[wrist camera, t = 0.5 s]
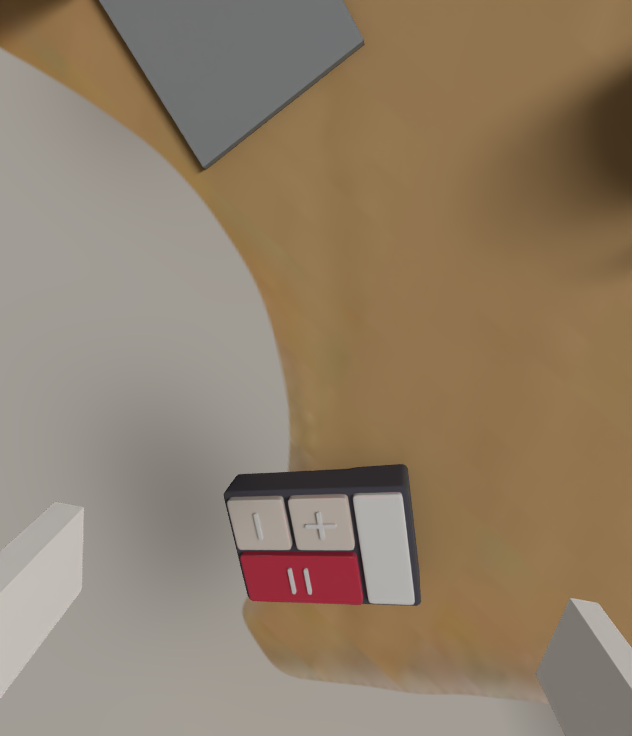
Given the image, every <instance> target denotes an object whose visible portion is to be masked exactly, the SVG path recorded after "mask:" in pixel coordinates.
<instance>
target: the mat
mask: <svg viewBox="0 0 632 736" xmlns="http://www.w3.org/2000/svg"><path fill="white" fill-rule="evenodd" d="M99 1H100V3H101V4H102V6H103V7H104V9H105V11H106V12H107V14H108V15H109V17H110V19H111V20H112V22H113V24H114V25H115V27H116V28H117V30H118V32H119V33H120V35H121V36H122V38H123V40H124V41H125V43H126V44H127V46H128V48H129V49H130V51H131V52H132V54H133V56H134V57H135V59H136V60H137V62H138V64H139V65H140V67H141V68H142V70H143V72H144V73H145V75H146V76H147V78H148V80H149V81H150V83H151V85H152V86H153V88H154V89H155V91H156V93H157V94H158V96H159V97H160V99H161V101H162V102H163V104H164V105H165V107H166V109H167V110H168V112H169V113H170V115H171V117H172V118H173V120H174V121H175V123H176V125H177V126H178V128H179V129H180V131H181V133H182V134H183V136H184V137H185V139H186V141H187V142H188V144H189V146H190V147H191V149H192V150H193V152H194V154H195V155H196V157H197V158H198V160H199V162H200V163H201V165H202V166H203V168H205V169H207V168H209V167H210V166H211V165H212V164H214V163H215V162H216V161H217V160H219V159H220V158H221V157H223V156H224V155H225V154H226V153H228V152H229V151H230V150H231V149H233V148H234V147H235V146H236V145H238V144H239V143H240V142H242V141H243V140H244V139H245V138H247V137H248V136H249V135H250V134H252V133H253V132H254V131H255V130H257V129H258V128H259V127H261V126H262V125H263V124H264V123H266V122H267V121H268V120H269V119H271V118H272V117H273V116H274V115H276V114H277V113H278V112H279V111H281V110H282V109H283V108H285V107H286V106H287V105H288V104H290V103H291V102H292V101H293V100H295V99H296V98H297V97H298V96H300V95H301V94H302V93H304V92H305V91H306V90H307V89H309V88H310V87H311V86H312V85H314V84H315V83H316V82H317V81H319V80H320V79H321V78H323V77H324V76H325V75H326V74H328V73H329V72H330V71H331V70H333V69H334V68H335V67H336V66H338V65H339V64H340V63H342V62H343V61H344V60H345V59H347V58H348V57H349V56H350V55H352V54H353V53H354V52H355V51H357V50H358V49H359V48H360V47H362V46H363V45H364V39H363V37H362V35H361V33H360V32H359V30H358V28H357V26H356V24H355V22H354V20H353V18H352V16H351V15H350V13H349V11H348V9H347V7H346V5H345V3H344V1H343V0H99Z"/></svg>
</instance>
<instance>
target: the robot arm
mask: <svg viewBox="0 0 632 736" xmlns="http://www.w3.org/2000/svg"><path fill="white" fill-rule="evenodd" d="M83 527H84V507H81V506H76V505H70V504H66V503H60V502H55V503H53V504H52V505H51V506H50V507H49V508H48V509H47V510H46V511H44V512H43V513H42V514H41V515H40V516H39V517H38V518H37V519H36V520H34V521H33V522H32V523H31V524H30V525H29V526H28V527H27V528H26V529H24V530H23V531H22V532H21V533H20V534H19V535H18V536H17V537H15V538H14V539H13V540H12V541H11V542H10V543H9V544H8V545H7V546H5V547H4V548H3V549H2V550H1V551H0V698H1V697H2V696H3V694H4V693H5V692H6V690H7V689H8V688H9V686H10V685H11V684H12V682H13V681H14V680H15V678H16V677H17V676H18V674H19V673H20V672H21V670H22V669H23V668H24V666H25V665H26V664H27V662H28V661H29V660H30V658H31V657H32V656H33V654H34V653H35V652H36V650H37V649H38V648H39V646H40V645H41V644H42V642H43V641H44V639H45V638H46V637H47V635H48V634H49V633H50V631H51V630H52V629H53V627H54V626H55V624H56V623H57V622H58V621H59V619H60V618H61V617H62V615H63V614H64V613H65V611H66V610H67V609H68V607H69V606H70V605H71V603H72V602H73V601H74V599H75V598H76V597H77V595H78V594H79V593H80V591H81V590H82V564H83ZM536 676H537V678H538V680H539V682H540V684H541V686H542V688H543V690H544V692H545V695H546V697H547V699H548V701H549V703H550V705H551V707H552V709H553V711H554V713H555V716H556V718H557V720H558V722H559V724H560V726H561V728H562V730H563V733H564V735H565V736H632V648H631V647H630V645H629V644H628V643H627V641H626V640H625V639H624V637H623V636H622V635H621V633H620V632H619V631H618V629H617V628H616V627H615V625H614V624H613V622H612V621H611V620H610V618H609V617H608V616H607V614H606V613H605V612H604V610H603V609H602V608H601V606H600V605H599V604H598V603H594V602H589V601H584V600H578V599H573V598H570V599H569V601H568V603H567V606H566V608H565V610H564V612H563V615H562V617H561V619H560V621H559V623H558V626H557V628H556V630H555V632H554V634H553V637H552V639H551V641H550V643H549V645H548V648H547V650H546V652H545V654H544V657H543V659H542V661H541V663H540V665H539V668H538V670H537V672H536Z"/></svg>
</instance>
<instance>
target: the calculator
mask: <svg viewBox="0 0 632 736" xmlns="http://www.w3.org/2000/svg"><path fill="white" fill-rule="evenodd" d="M224 499H225V503H226V507H227V512H228V516H229V520H230V524H231V527H232V532H233V536H234V540H235V545H236V549H237V553H238V556H239V561H240V565H241V570H242V574H243V578H244V581H245V586H246V590H247V594H248V597H249V598H250V599H251V600H252V601H267V602H295V603H322V604H350V605H361V604H382V605H410V606H417V605H419V604H420V602H421V594H420V576H419V564H418V555H417V547H416V538H415V529H414V520H413V511H412V502H411V494H410V485H409V476H408V469H407V467H406V466H405V465H403V464H398V465H383V466H369V467H356V468H353V469H348V470H325V471H301V472H278V473H252V474H238V475H237V476H236V477H235V479H234V480H233V482H232V483H231V484H230V486H229V487H228V489H227V490H226V491H225V493H224Z"/></svg>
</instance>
